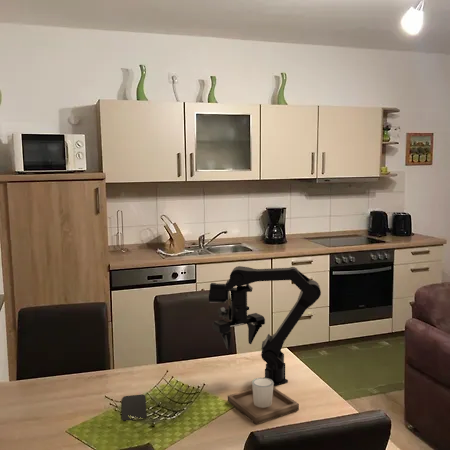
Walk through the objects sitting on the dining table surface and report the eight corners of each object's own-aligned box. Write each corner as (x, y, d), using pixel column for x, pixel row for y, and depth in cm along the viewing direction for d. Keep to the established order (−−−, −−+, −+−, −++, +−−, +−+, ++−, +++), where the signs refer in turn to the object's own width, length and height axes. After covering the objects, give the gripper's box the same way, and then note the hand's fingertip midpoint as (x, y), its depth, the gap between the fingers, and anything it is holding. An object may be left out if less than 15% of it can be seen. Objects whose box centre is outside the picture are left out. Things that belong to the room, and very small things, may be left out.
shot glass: (272, 409, 146) (272, 387, 145) (250, 407, 147) (250, 386, 146) (274, 398, 153) (274, 378, 152) (253, 397, 154) (253, 376, 153)
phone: (121, 420, 141) (122, 396, 156) (121, 423, 141) (122, 398, 156) (146, 417, 143) (145, 394, 157) (146, 420, 143) (145, 396, 157)
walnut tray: (268, 389, 161) (268, 383, 161) (298, 409, 147) (298, 403, 147) (227, 401, 153) (227, 395, 152) (255, 424, 139) (255, 417, 139)
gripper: (248, 294, 177) (248, 334, 179) (204, 301, 168) (204, 344, 170) (265, 301, 168) (265, 343, 170) (220, 309, 158) (220, 354, 160)
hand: (239, 346), depth 167 cm, fingers open, 9 cm apart
